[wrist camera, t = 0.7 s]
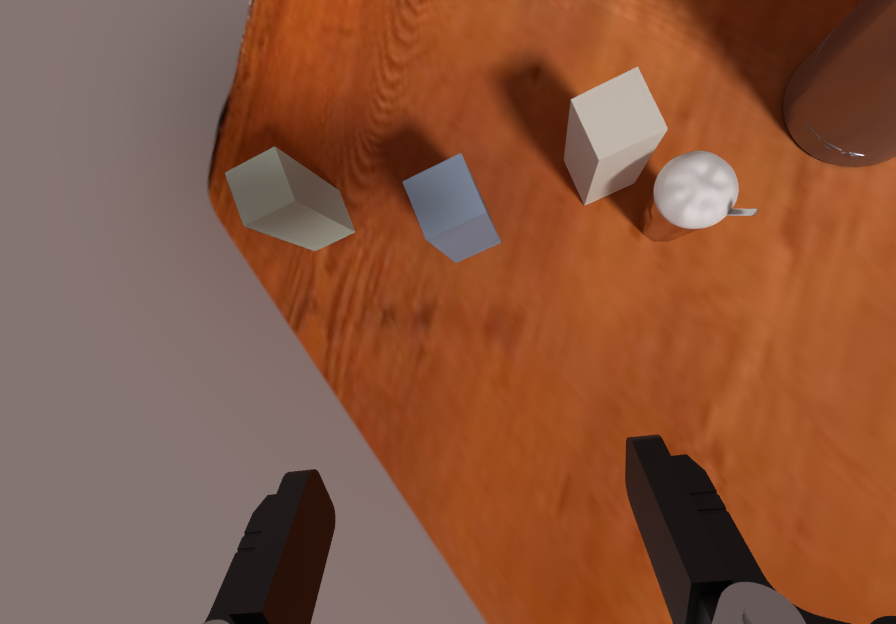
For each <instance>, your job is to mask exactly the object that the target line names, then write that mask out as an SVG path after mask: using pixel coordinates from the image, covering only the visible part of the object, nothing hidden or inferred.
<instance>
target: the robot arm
mask: <svg viewBox="0 0 896 624" xmlns="http://www.w3.org/2000/svg"><path fill="white" fill-rule="evenodd" d="M783 115H784V119H785V123H786V126H787V128H788V130H789V132H790V134H791V136H792V138H793V139H794V140H795V141H796V142H797V144H798V145H799V146H800V147H801V148H802V149H803V150H805V151H806V152H807V153H809V154H810V155H811V156H813V157H815V158H817V159H819V160H821V161H824V162H826V163H830V164H834V165H838V166H846V167H861V166H869V165H874V164H877V163H881V162H884V161H887V160H889V159H891V158H893V157H895V156H896V0H862V1H861V2H860V3H859V4H858V5H857V6H856V7H855V8H854V9H853V10H852V11H851V12H850V13H849V14H848V16H847V17H846V18H845V19H844V20H843V21H842V22H841V23H840V24H839V25H838V26H837V27H836V28H835V29H834V30H833V31H832V32H831V33H830V34H829V35H828V36H827V37H826V38H825V39H824V40H823V41H822V42H821V43H820V44H819V45H818V46H817V47H816V48H815V50H814V51H813V52H812V53H811V54H810V55H809V56H808V57H807V58H806V59H805V60H804V61H803V62H802V63H801V64H800V66H799V67H798V68H797V69H796V71H795V72H794V73H793V75H792V77H791V78H790V80H789V82H788V84H787V86H786V90H785V94H784V98H783ZM625 481H626V489H627V494H628V498H629V502H630V505H631V508H632V511H633V513H634V516H635V519H636V522H637V524H638V527H639V530H640V533H641V535H642V538H643V541H644V544H645V547H646V549H647V552H648V555H649V558H650V560H651V563H652V566H653V569H654V572H655V574H656V577H657V580H658V583H659V585H660V588H661V591H662V594H663V597H664V599H665V602H666V605H667V608H668V610H669V613H670V616H671V619H672V621H673V624H850V623H845V622H841V621H837V620H833V619H829V618H825V617H821V616H818V615H814V614H812V613H809V612H807V611H805V610H803V609H801V608H799V607H797V606H795V605H794V604H792V603H791V602H790V601H789V600H787V599H786V598H785V597H784V596H782V595H781V594H780V593H778V592H777V591H776V590H775V589H774V588H773V587H772V586H771V585H770V583H769V582H768V581H767V579H766V578H765V576H764V575H763V573H762V571H761V570H760V568H759V566H758V564H757V562H756V561H755V559H754V557H753V555H752V553H751V552H750V550H749V548H748V546H747V545H746V543H745V541H744V539H743V537H742V536H741V534H740V532H739V530H738V528H737V527H736V525H735V523H734V521H733V519H732V518H731V516H730V514H729V512H727V511H726V507H725V505H724V503H723V502H722V500H721V498H720V496H719V495H717V492H716V489H715V487H714V486H713V484H712V482H711V480H710V478H709V477H708V475H707V473H706V471H705V470H704V469H703V468H701V467H700V466H699V465H698V464H697V463H696V462H695V461H693V460H692V459H691V458H690V457H689V456H688V455H687V454H686V455H676V456H671V455H670V453H669V451H668V449H667V447H666V445H665V443H664V441H663V439H662V438H661V436H660V435H648V436H638V437H629V438H627V440H626V470H625ZM334 529H335V510H334V506H333V503H332V501H331V499H330V497H329V494H328V492H327V490H326V488H325V486H324V483H323V481H322V479H321V476H320V474H319V472H318V471H317V470H315V469H313V470H303V471H295V472H288V473H286V474H285V476H284V477H283V479H282V482H281V484H280V486H279V489H278V491H277V494H274V495H267V497H266V498H265V499H264V500H263V501H262V503H261V504H260V505H259V506H258V507H257V509H256V510H255V511H254V512H253V514H252V516H251V519H250V521H249V523H248V525H247V528H246V530H245V532H244V533H245V535H244V537H242V539H241V542H240V544H239V547H238V548H237V549H238V552H237V553H235V555H234V558H233V560H232V562H231V565H230V567H229V569H228V572H227V574H226V576H225V578H224V581H223V583H222V585H221V588H220V590H219V592H218V595H217V597H216V599H215V602H214V604H213V606H212V608H211V611H210V613H209V615H208V617H207V619H206V621H205V622H204V623H203V624H311V620H312V616H313V612H314V608H315V604H316V600H317V596H318V592H319V588H320V584H321V580H322V577H323V573H324V568H325V565H326V560H327V557H328V553H329V549H330V545H331V541H332V537H333V533H334ZM871 624H896V616H884V617H881V618H877V619H876V620H874V621H873V622H872V623H871Z"/></svg>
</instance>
